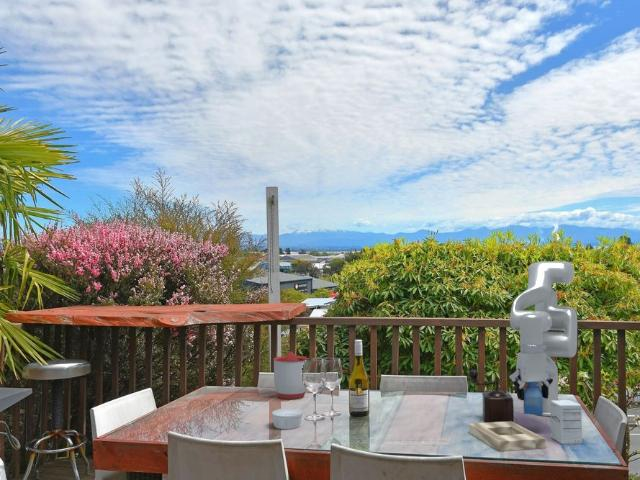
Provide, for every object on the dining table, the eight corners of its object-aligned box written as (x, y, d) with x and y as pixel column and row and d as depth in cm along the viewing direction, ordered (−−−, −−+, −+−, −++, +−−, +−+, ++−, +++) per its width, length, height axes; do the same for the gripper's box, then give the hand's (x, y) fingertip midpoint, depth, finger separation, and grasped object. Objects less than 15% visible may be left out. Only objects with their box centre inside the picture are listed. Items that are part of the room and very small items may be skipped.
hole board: (511, 429, 216) (511, 421, 217) (545, 448, 195) (545, 438, 195) (469, 432, 213) (468, 423, 214) (498, 451, 192) (498, 441, 192)
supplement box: (550, 438, 206) (549, 400, 207) (571, 437, 207) (570, 399, 207) (561, 444, 199) (560, 405, 199) (582, 443, 200) (582, 404, 200)
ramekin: (279, 432, 215) (279, 417, 215) (266, 424, 225) (266, 410, 225) (307, 428, 220) (307, 413, 221) (294, 421, 230) (294, 406, 231)
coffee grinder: (509, 417, 234) (509, 369, 235) (514, 424, 223) (513, 374, 224) (468, 415, 237) (467, 368, 237) (470, 423, 226) (470, 374, 226)
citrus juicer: (312, 400, 264) (311, 353, 264) (271, 400, 264) (271, 354, 265) (313, 393, 279) (312, 348, 280) (274, 393, 280) (274, 349, 280)
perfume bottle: (542, 410, 217) (541, 376, 217) (542, 415, 211) (542, 380, 211) (524, 409, 219) (523, 375, 219) (523, 413, 213) (523, 379, 213)
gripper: (548, 346, 220) (549, 394, 220) (503, 348, 217) (504, 397, 217) (560, 349, 213) (561, 399, 213) (514, 352, 210) (515, 403, 209)
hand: (532, 398), depth 215 cm, fingers closed on perfume bottle, 8 cm apart
